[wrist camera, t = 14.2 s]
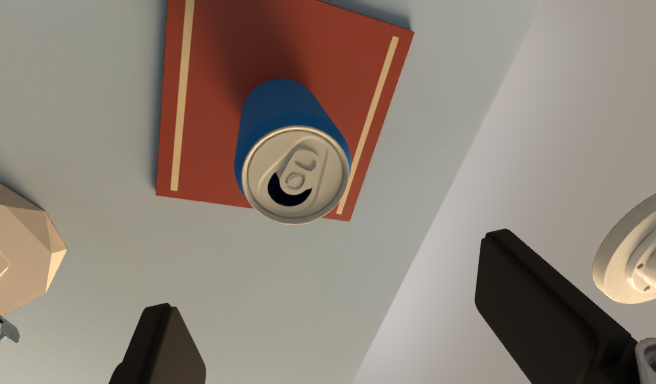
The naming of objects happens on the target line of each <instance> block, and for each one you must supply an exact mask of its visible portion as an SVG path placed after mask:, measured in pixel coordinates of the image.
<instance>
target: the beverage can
mask: <svg viewBox="0 0 656 384" xmlns="http://www.w3.org/2000/svg"><path fill="white" fill-rule="evenodd" d="M350 172H351V155H350V150H349V147H348V144H347V142H346V140H345V138H344V136H343V135H342V133H341V132H340V130H339V129H338V128H337V126H336V125H335V124H334V122H333V121H332V119H331V118H330V117H329V115H328V114H327V112H326V111H325V110H324V108H323V107H322V106H321V104H320V103H319V101H318V100H317V99H316V97H315V96H314V94H313V93H312V92H311V91H310V90H309V89H308V88H307V87H305V86H304V85H302V84H300V83H298V82H296V81H293V80H289V79H273V80H269V81H266V82H263V83H262V84H260V85H258V86H257V87H256V88H254V89H253V90H252V91H251V92H250V94H249V95H248V96H247V98H246V100H245V102H244V104H243V107H242V112H241V118H240V125H239V132H238V139H237V145H236V152H235V159H234V174H235V178H236V182H237V185H238V187H239V189H240V191H241V193H242V194H243V196H244V197H245V198H246V200H247V201H248V202H249V203H250V204H251V206H252V207H253V208H254V209H255V210H256V211H257V212H258V213H259V214H261V215H262V216H264V217H265V218H267V219H269V220H272V221H274V222H278V223H282V224H290V225H295V224H304V223H308V222H312V221H314V220H317V219H319V218H321V217H323V216H324V215H326V214H327V213H329V212H330V211H331V210H332V209H334V207H335V206H336V205H337V204H338V203H339V202H340V200H341V199H342V197H343V195H344V194H345V191H346V189H347V186H348V182H349V177H350Z"/></svg>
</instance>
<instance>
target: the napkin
mask: <svg viewBox="0 0 656 384" xmlns="http://www.w3.org/2000/svg"><path fill="white" fill-rule="evenodd" d="M413 35H414V32H413V31H410V30H407V29H404V28H401V27H398V26H395V25H392V24H388V23H385V22H382V21H379V20H376V19H373V18H370V17H367V16H364V15H361V14H358V13H355V12H352V11H349V10H346V9H343V8H340V7H337V6H334V5H331V4H328V3H325V2H322V1H319V0H168V5H167V22H166V38H165V54H164V71H163V87H162V103H161V120H160V136H159V152H158V169H157V185H156V195H158V196H165V197H173V198H180V199H187V200H195V201H202V202H209V203H217V204H224V205H231V206H239V207H246V208H253V207H252V206H251V204H250V203H249V202H248V201H247V200H246V198H245V197H244V196H243V194H242V193H241V191H240V189H239V187H238V185H237V182H236V178H235V174H234V159H235V152H236V145H237V139H238V132H239V125H240V118H241V112H242V107H243V104H244V102H245V100H246V98H247V96H248V95H249V94H250V92H251V91H252V90H253V89H254V88H256V87H257V86H258V85H260V84H262V83H263V82H266V81H269V80H273V79H289V80H293V81H296V82H298V83H300V84H302V85H304V86H305V87H307V88H308V89H309V90H310V91H311V92H312V93H313V94H314V96H315V97H316V99H317V100H318V101H319V103H320V104H321V106H322V107H323V108H324V110H325V111H326V112H327V114H328V115H329V117H330V118H331V119H332V121H333V122H334V124H335V125H336V126H337V128H338V129H339V130H340V132H341V133H342V135H343V136H344V138H345V140H346V142H347V144H348V147H349V150H350V155H351V172H350V177H349V182H348V186H347V189H346V191H345V194H344V195H343V197H342V199H341V200H340V202H339V203H338V204H337V205H336V206H335V207H334V209H332V210H331V211H330V212H329V213H327V214H326V215H324V216H323V217H321V218H327V219H334V220H341V221H350V219H351V216H352V213H353V210H354V207H355V204H356V201H357V198H358V195H359V192H360V190H361V187H362V184H363V181H364V178H365V175H366V172H367V169H368V166H369V163H370V160H371V158H372V155H373V152H374V149H375V146H376V143H377V140H378V137H379V134H380V131H381V128H382V125H383V123H384V120H385V117H386V114H387V111H388V108H389V105H390V102H391V99H392V96H393V93H394V91H395V88H396V85H397V82H398V79H399V76H400V73H401V70H402V67H403V64H404V61H405V58H406V56H407V53H408V50H409V47H410V44H411V41H412V38H413ZM253 209H254V208H253Z"/></svg>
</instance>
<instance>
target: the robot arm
mask: <svg viewBox="0 0 656 384" xmlns="http://www.w3.org/2000/svg"><path fill="white" fill-rule="evenodd" d="M626 280H627V282H628V283H629V284H630V286H632V287H633V288H635V289H636V290H638V291H640V292H642V293H656V229H655V230H653V231H652V232H651V233H650V234H649V235H648V236H647V237H646V238H645V239H644V240H643V241H642V242H641V243H640V244H639V245H638V247H637V248H636V249H635V250H634V252H633V254H632V255H631V257H630V259H629V261H628V263H627V267H626ZM475 305H476V307H477V309H478V311H479V313H480V314H481V315H482V317H483V318H484V319H485V321H486V322H487V323H488V325H489V326H490V327H491V329H492V330H493V331H494V333H495V334H496V336H497V337H498V338H499V340H500V341H501V343H502V344H503V345H504V347H505V348H506V349H507V351H508V352H509V353H510V355H511V356H512V357H513V359H514V360H515V362H516V363H517V364H518V366H519V367H520V368H521V370H522V371H523V372H524V374H525V375H526V377H527V378H528V379H529V381H530V382H531V383H532V384H656V338H646V339H644V340H641V341H640V342H639V343H638V342H637V341H636V340H635V339H634V338H632V337H631V334H630V333H629V332H628V331H626V330H625V329H624V328H623V327H622V326H621V325H619V324H618V323H617V322H616V321H615V320H613V319H612V318H611V317H610V316H609V315H608V314H606V313H605V312H604V311H603V310H602V309H601V308H599V307H598V306H597V305H596V304H595V303H594V302H593V301H591V300H590V299H589V298H588V297H587V296H585V295H584V294H583V293H582V292H581V291H580V290H579V289H578V288H576V287H575V286H574V285H573V284H572V283H570V282H569V281H568V280H567V279H566V278H565V277H564V276H562V275H561V274H560V273H559V272H558V271H557V270H555V269H554V268H553V267H552V266H551V265H550V264H548V263H547V262H546V261H545V260H544V259H542V258H541V257H540V256H539V255H538V254H537V253H535V252H534V251H533V250H532V249H531V248H530V247H529V246H527V245H526V244H525V243H524V242H523V241H522V240H520V239H519V238H518V237H517V236H516V235H515V234H514V233H512V232H511V231H510V230H508V229H501V230H497V231H492V232H488V233H487V234H486V236H485V238H483V239H482V240H481V247H480V256H479V265H478V275H477V283H476V293H475ZM205 379H206V368H205V364H204V362H203V360H202V358H201V356H200V353H199V351H198V349H197V347H196V345H195V343H194V341H193V339H192V337H191V335H190V333H189V331H188V329H187V327H186V325H185V323H184V321H183V319H182V317H181V315H180V313H179V310H178V309H177V307H171V306H170V304H168V303H164V304H159V305H155V306H150V307H146V308H145V309H144V311H143V312H142V315H141V317H140V320H139V322H138V325H137V327H136V329H135V332H134V334H133V337H132V339H131V342H130V344H129V347H128V349H127V351H126V354H125V356H124V359H123V361H122V363H120V364H119V365H118V366H117V367H116V369H115V371H114V372H113V374H112V377H111V379H110V382H109V384H205Z"/></svg>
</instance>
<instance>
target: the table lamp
mask: <svg viewBox="0 0 656 384" xmlns="http://www.w3.org/2000/svg"><path fill="white" fill-rule="evenodd" d="M66 251H67V248H66V247H65V245H64V243H63V241H62V240H61V238H60V236H59V235H58V233H57V231H56V229H55V228H54V226H53V224H52V223H51V221H50V219H49V217H48V216H47V214H46V212H45V211H43V210H42V209H40V208H39V207H37V206H35V205H34V204H32V203H31V202H29V201H28V200H26V199H24V198H23V197H21V196H20V195H18V194H17V193H15V192H13V191H12V190H10V189H9V188H7V187H6V186H4V185H2V184H0V323H1V325H2V326H1V334H0V343H1V342H3V341H4V340H5V339H6V338H7V337H8V338H10V339H11V340H13V341H14V342H16V343H17V342H18V341H19V337H20V335H19V333H18V330H17V328H16V327H15V326H14V325H12V324H11V323H10V322H8V321H7V320H6V319H3V317H2V316H3V315H5V314H7V313H9V312H11V311H13V310H15V309H17V308H19V307H21V306H22V305H24V304H26V303H28V302H30V301H32V300H34V299H36V298H38V297H39V296H41V295H43V294H45V293H46V291H47V289H48V287H49V285H50V283H51V281H52V279H53V277H54V275H55V273H56V271H57V269H58V267H59V265H60V263H61V261H62V259H63V257H64V255H65V253H66Z"/></svg>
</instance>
